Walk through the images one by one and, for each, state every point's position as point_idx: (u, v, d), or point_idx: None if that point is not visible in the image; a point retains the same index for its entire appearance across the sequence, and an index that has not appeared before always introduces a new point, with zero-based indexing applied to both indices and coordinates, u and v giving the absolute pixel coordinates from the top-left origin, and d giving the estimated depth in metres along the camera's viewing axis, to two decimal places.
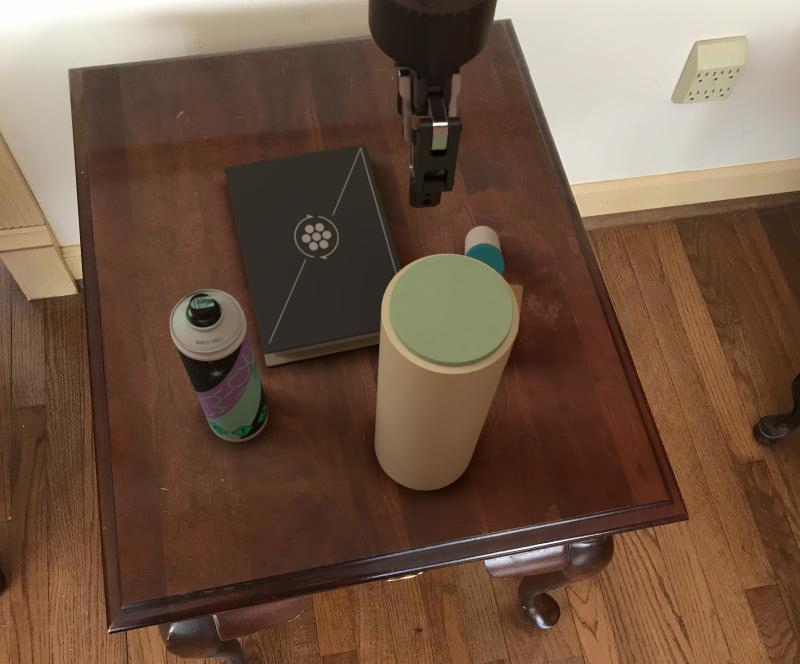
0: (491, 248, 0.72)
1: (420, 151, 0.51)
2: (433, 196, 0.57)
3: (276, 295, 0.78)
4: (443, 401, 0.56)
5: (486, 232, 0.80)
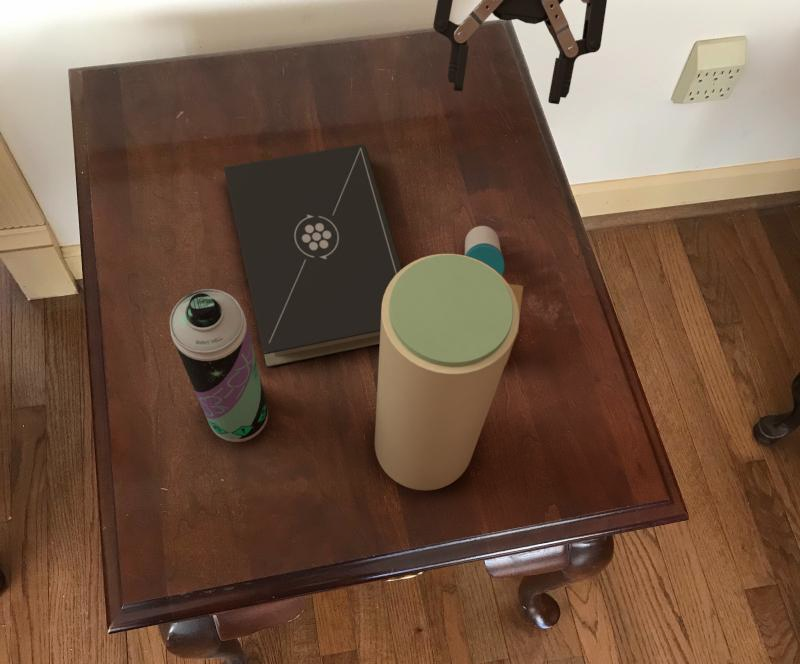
0: (491, 248, 0.72)
1: None
2: (449, 63, 0.72)
3: (276, 295, 0.78)
4: (443, 401, 0.56)
5: (486, 232, 0.80)
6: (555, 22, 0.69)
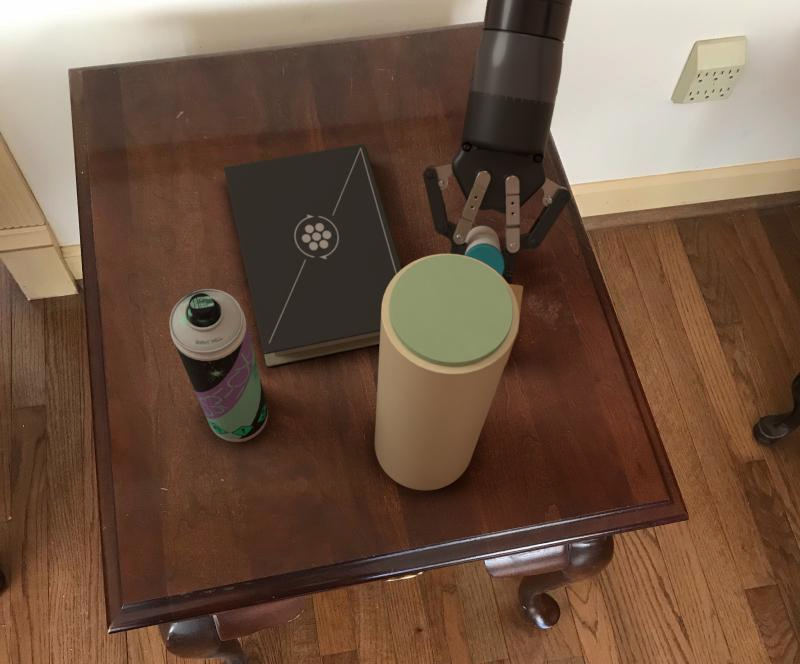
0: (491, 248, 0.72)
1: None
2: None
3: (276, 295, 0.78)
4: (443, 401, 0.56)
5: (486, 232, 0.80)
6: (509, 218, 0.74)
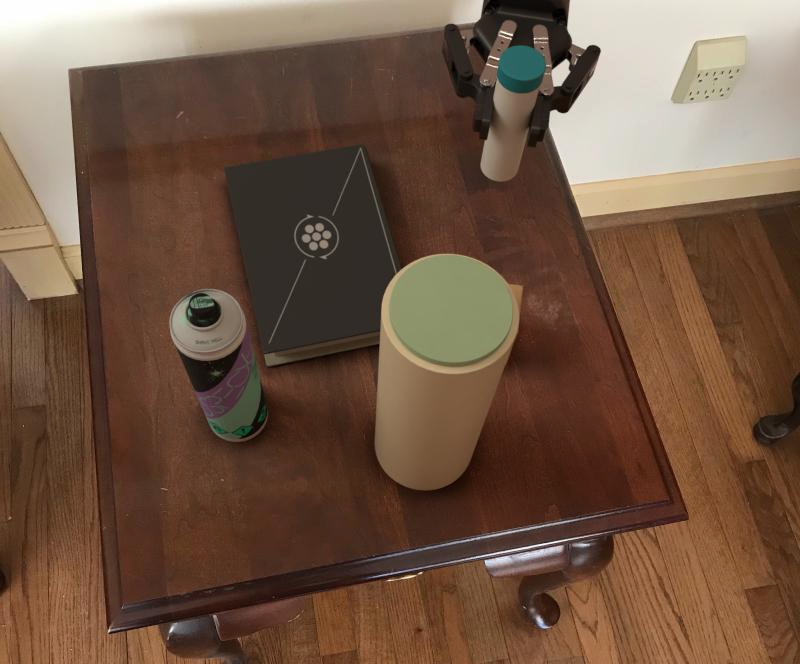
0: (529, 47, 0.64)
1: None
2: (475, 107, 0.67)
3: (276, 295, 0.78)
4: (443, 401, 0.56)
5: None
6: None
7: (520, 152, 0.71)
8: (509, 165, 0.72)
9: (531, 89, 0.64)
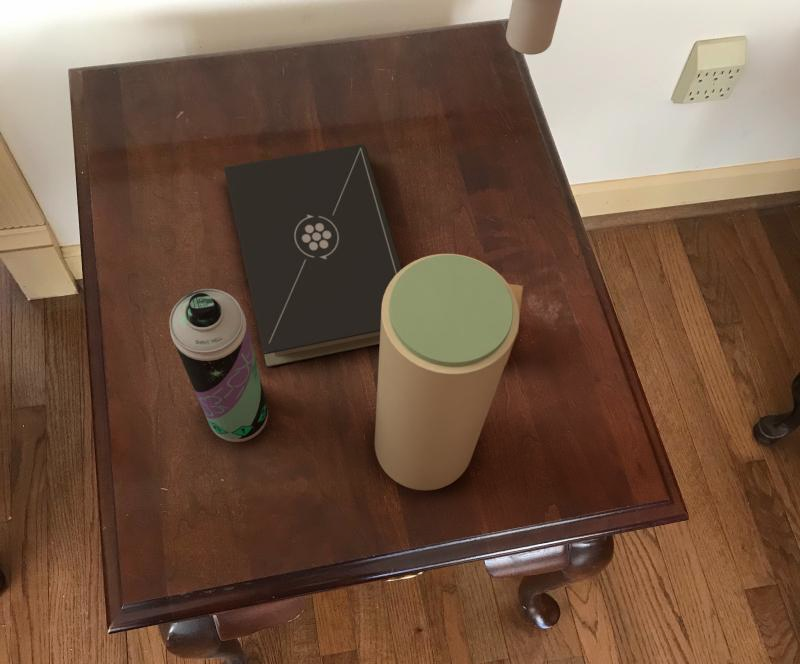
0: None
1: None
2: None
3: (276, 295, 0.78)
4: (443, 401, 0.56)
5: None
6: None
7: (556, 13, 0.58)
8: (542, 30, 0.59)
9: None
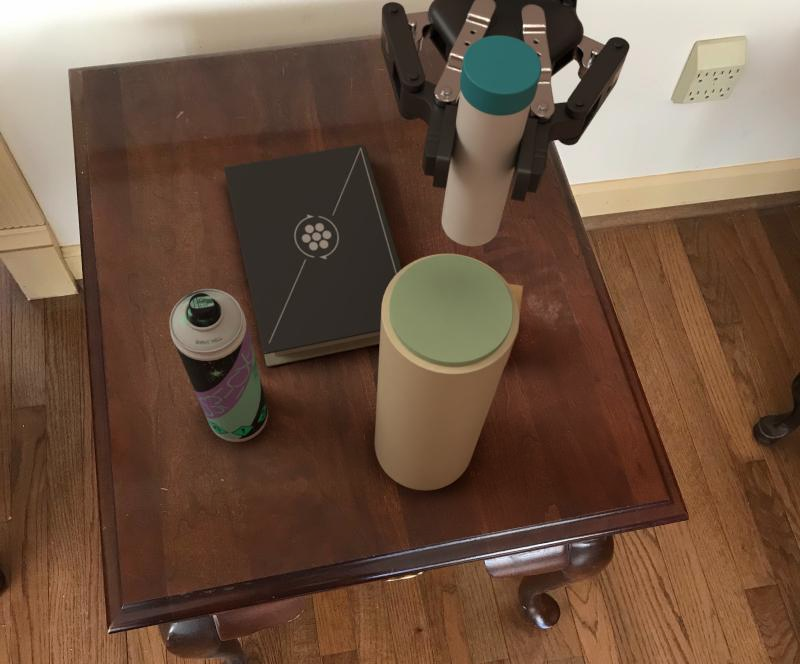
0: (514, 39, 0.38)
1: (386, 63, 0.46)
2: (426, 136, 0.42)
3: (276, 295, 0.78)
4: (443, 401, 0.56)
5: None
6: None
7: (501, 204, 0.45)
8: (485, 223, 0.46)
9: (517, 109, 0.38)
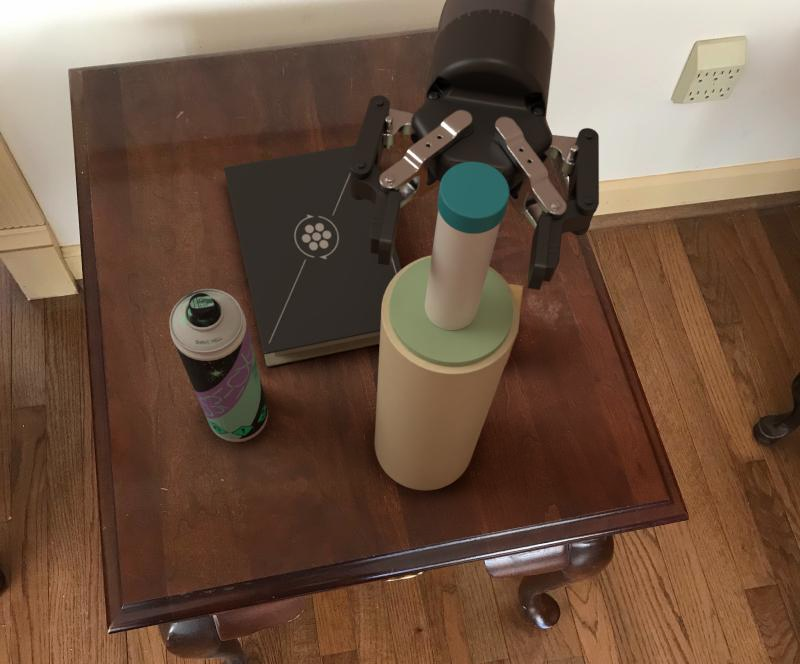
0: (485, 165, 0.43)
1: None
2: (372, 219, 0.47)
3: (276, 295, 0.78)
4: (443, 401, 0.56)
5: None
6: (528, 167, 0.47)
7: (477, 297, 0.50)
8: (463, 312, 0.51)
9: (488, 228, 0.43)
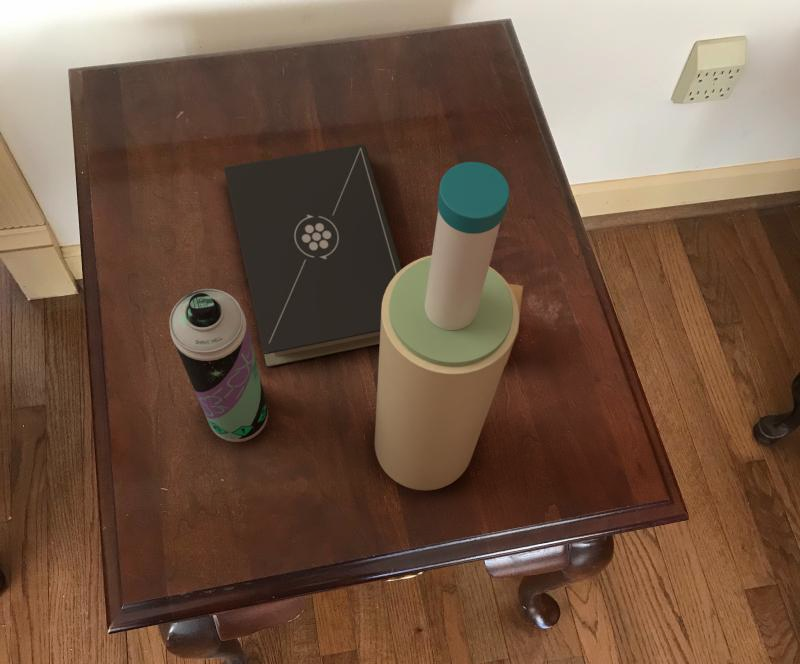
0: (485, 165, 0.43)
1: None
2: None
3: (276, 295, 0.78)
4: (443, 401, 0.56)
5: None
6: None
7: (477, 297, 0.50)
8: (463, 312, 0.51)
9: (488, 228, 0.43)
